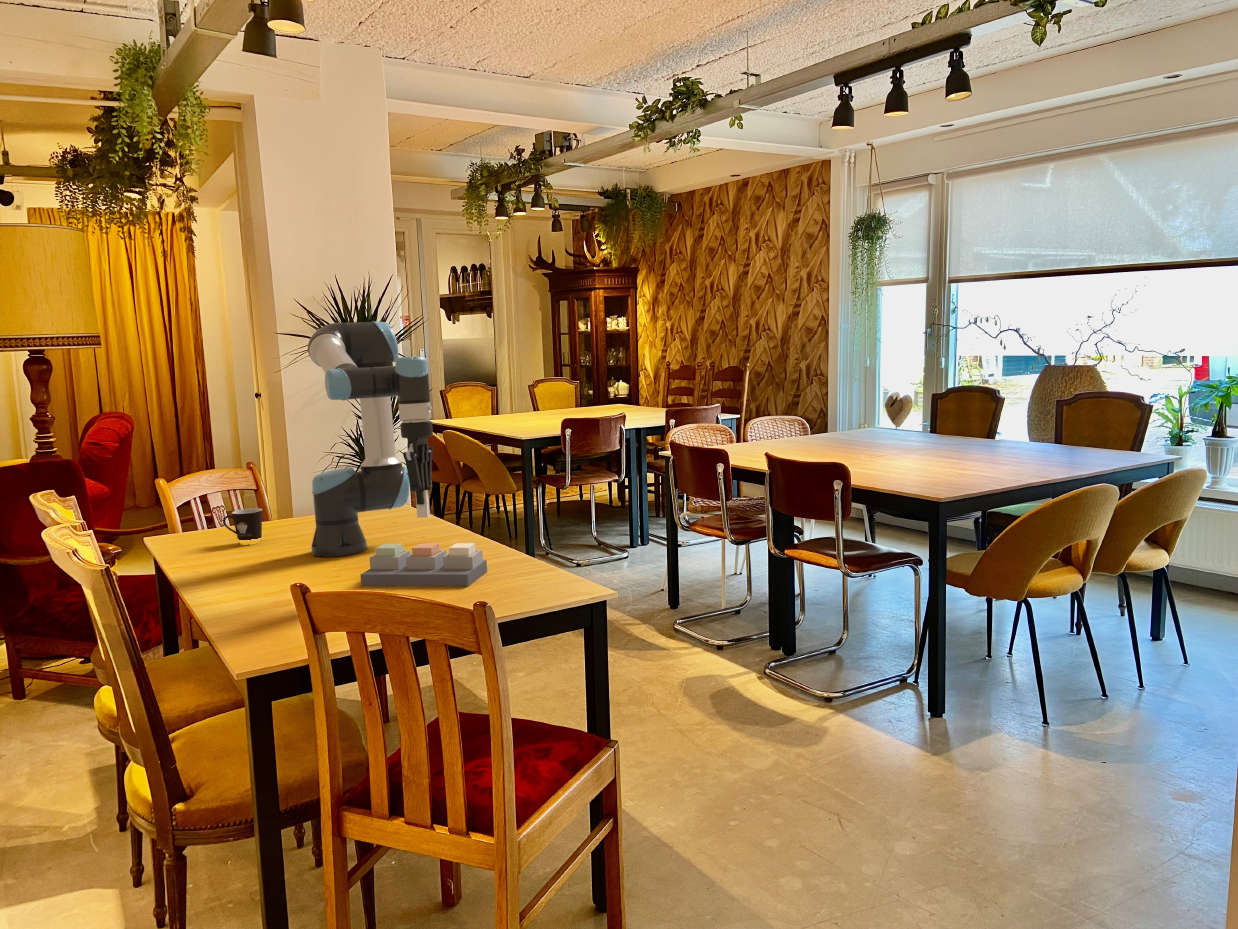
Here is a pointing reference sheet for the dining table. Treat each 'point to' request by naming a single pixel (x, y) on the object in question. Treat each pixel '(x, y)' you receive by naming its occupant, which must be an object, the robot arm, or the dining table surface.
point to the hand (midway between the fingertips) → (423, 516)
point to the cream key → (462, 549)
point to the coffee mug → (247, 523)
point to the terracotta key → (425, 549)
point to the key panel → (424, 570)
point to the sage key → (389, 550)
